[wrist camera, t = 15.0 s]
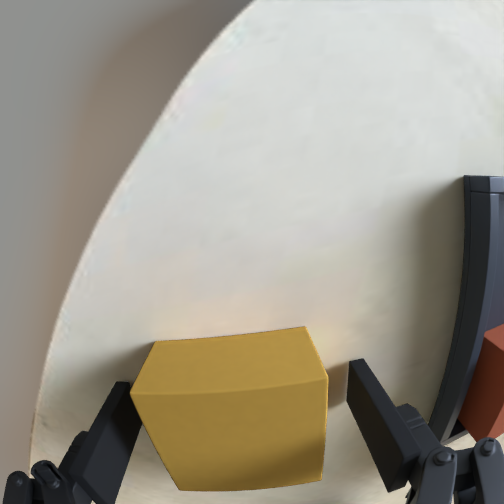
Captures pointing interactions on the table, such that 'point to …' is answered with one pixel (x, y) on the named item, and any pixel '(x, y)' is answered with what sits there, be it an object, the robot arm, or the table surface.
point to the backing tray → (473, 299)
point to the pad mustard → (236, 410)
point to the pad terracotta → (486, 390)
